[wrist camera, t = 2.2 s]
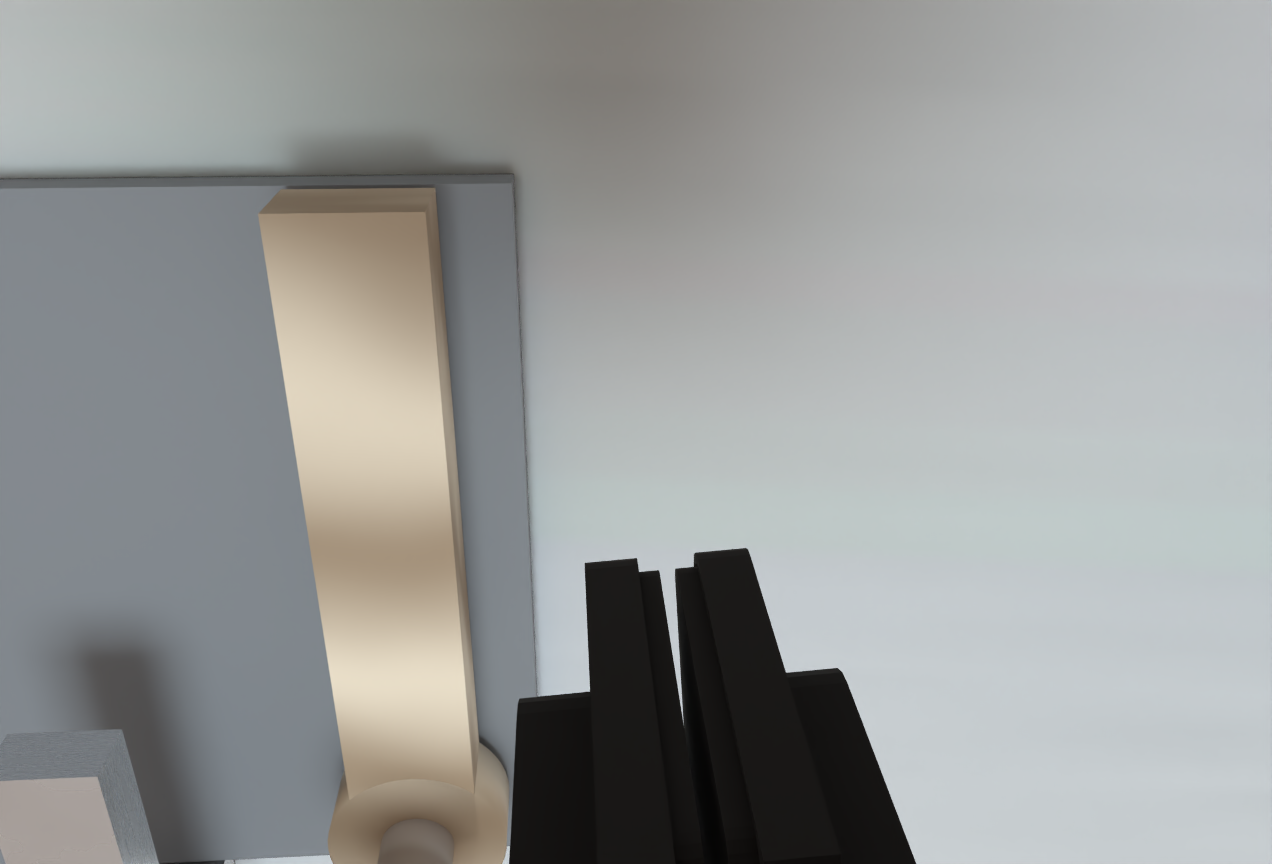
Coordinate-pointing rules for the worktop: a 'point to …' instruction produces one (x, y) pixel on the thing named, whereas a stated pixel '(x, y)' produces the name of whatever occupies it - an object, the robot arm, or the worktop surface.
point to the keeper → (72, 801)
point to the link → (384, 520)
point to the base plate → (218, 496)
